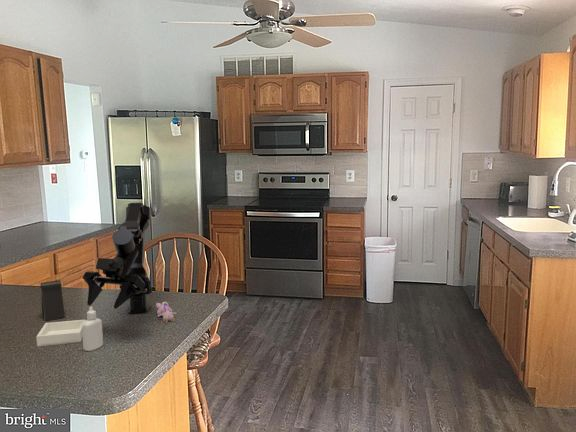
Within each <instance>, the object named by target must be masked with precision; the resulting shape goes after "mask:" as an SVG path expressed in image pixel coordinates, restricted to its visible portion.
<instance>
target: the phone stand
mask: <svg viewBox="0 0 576 432" xmlns="http://www.w3.org/2000/svg"><path fill="white" fill-rule="evenodd" d="M61 281H62V280H53V281H46V282H41V283H40V296H41V297H40V299H41V301H40V305H41V315H42V317H43V319H44V321H45V322H49V321H54V320H55V321H56V320H59V319H60V320H61V319H65V318H66V314H65V313H66V312H65V308H64V307H65V306H64V299H63V291H62V289H63V288H62V282H61Z"/></svg>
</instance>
